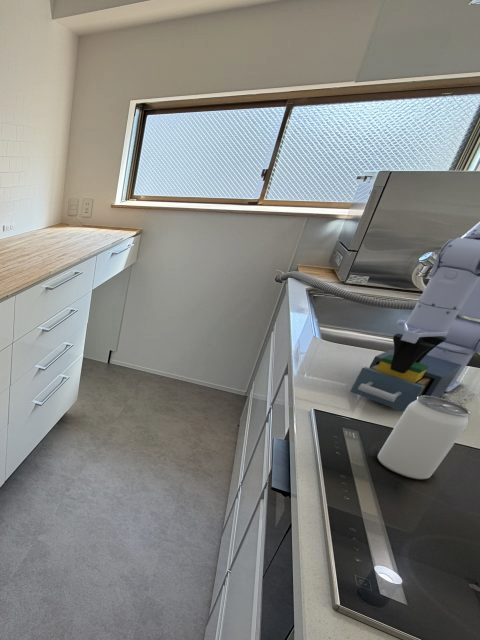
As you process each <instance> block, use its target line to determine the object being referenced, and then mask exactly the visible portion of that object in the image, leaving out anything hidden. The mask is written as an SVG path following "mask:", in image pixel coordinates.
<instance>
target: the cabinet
mask: <svg viewBox="0 0 480 640" xmlns="http://www.w3.org/2000/svg"><path fill="white" fill-rule="evenodd" d="M388 355H394V347H393V348H390V349H389V350H387V351H384V352H382V353H380V354H377V355H375V356H374V358H373V359H372V361H371V363H370V365H369V367H368V368H370V369H371V368H372V367H374V366H376V365H378V364H380V362H381V360H382V358H384V357H386V356H388ZM419 363H421V364H424V365H427V366H429V367H428V368H427V370H426V372H425V373H424V376H427V377H430V378H433V379H434V381H433V383H432V384H431V386H430V387H429V389H428V391H427V392H426V394H425V395H424V396H432V397H437V398H441V397H442V396H443V395H444V393H446V392H445V391H446V389H447V388H448V386H449V384H450V383H451V381H452V380H453V378H454V377H455V375H456V374H457V372H458V371H459V369H460V368H461V366H462V365H460V364H457V363H453V362H450V361H446V360H443V359H439V358H436V357H432V356H428V355H426V356H425V357H424V358H423V359H422V360H421V361H420V362H419Z"/></svg>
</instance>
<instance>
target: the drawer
mask: <svg viewBox="0 0 480 640" xmlns="http://www.w3.org/2000/svg"><path fill="white" fill-rule="evenodd" d="M378 366H379V364H378V365H376V366H374V367H372V368H371V369H370V368H369V367H367V366H363V367H362V368H361V369H360V372H359V374H358V375H357V378H356V379H355V381H354V383H353V385H352V387H351V389H350V390H349V392H350V393H352V394H355V395H358V396H360V397H363V398H366V399H368V400H371V401H374V402H377V403H380V404H382V405H385V406H387V407H389V408H392V409H396V410H398V411H399V412H403V413H404V411H405V410H406V408H407V407H408V405H409V404H410V403H412V402H414V401H415V400H417V397H419V396H424V395H425V394H426V392H427V391H428V389H429V387H430V386H431V384H432V383H433V381H434V379H433V378H430V377H427V376H424V375H423V376H422V378H421V379H420V380H418V381H416V382H415V383H413V382H410V381H407V380H404V379H401V378H398V377H395V376H392V375H389V374H386V373H383V372H380V371H377V370H376V369H377V368H378Z"/></svg>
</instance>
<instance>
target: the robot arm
mask: <svg viewBox="0 0 480 640" xmlns="http://www.w3.org/2000/svg"><path fill="white" fill-rule="evenodd" d="M428 277H429V278H430V279H429V280H428V282H427V284H426V286H425V288H424V290H423V291H422V294H420V297H419V299H418V301H417V302H416V304H415V306H414V308H413V309H412V311H411V314H410V315H409V317H408V319H407V320H405V319H398V320H397V322H396V324H397V325H399V326H402V327H403V330H404V333H403V334H402V333H395V334H394V335H393V337H392V341H393V348H394V355H393V359H392V363H391V370H394V371H397V372H400V373H405V372H406V371H407V370H408V369H409V368H410V367H411V366H412V365H413V364H414V363H415V362H417V363H419V362H420V361H421V360H422V359H423V358H424V357H425V356H426V355H428V356H432V357H436V358H439V359H443V360H446V361H450V362H453V363H457V364H460V365H462V366H461V368H460V369H459V371H458V372H457V374H456V375H455V377H454V378H453V380H452V381H451V383H450V384H449V386H448V388H447V389H446V391H445V392H444V393H450V392H451V391H452V390H454V389H456V388H458V386H460V385H461V384H462V382H461V381H459V380H458V379H459V377H460V376H461V374H462V373H463V371H464V370H465V368H466V367H467V365H468V364H469V362H470V360H472V357H473V356H474V354H480V321H477V320H480V221H479V222H478V223H476V224H475V225H474V226H473V227H472V228H470V229H469V230H468V231H467V232H466V233H465V234H463V235H462V236H461V237H459V236H458V237H457V238H456V237H455V238H454V239H452V238H451V239H448V240H447V241H446V242H445V243H444V244H443V245H442V247H441V248H440V249H439V251H438V253H437V255H436V257H435V259H434V262H433V267H432V269H431V271H430V272H429V275H428ZM459 316H462V317H459ZM464 317H467V318H464ZM468 318H471V319H468ZM472 319H475V320H472Z"/></svg>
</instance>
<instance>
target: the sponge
mask: <svg viewBox="0 0 480 640" xmlns="http://www.w3.org/2000/svg"><path fill="white" fill-rule="evenodd" d="M392 359H393V355H388V356H386V357H384V358H382V360H381V362H380V364H379V366H378V368H377V369H376V370H377V371H380V372H383V373H386V374H389V375H392V376H395V377H398V378H401V379H404V380H407V381H410V382H413V383H415V382H416V381H418V380H420V379H421V378H422V376H423V375H424V373H425V372H426V370H427V368H428V367H429V366H427V365H424V364H421V363H417V362H415V363H414V364H413V365H412V366H411V367H410V368H409V369H408V370H407V371H406V372H405V373H400V372H397V371H394V370H391V363H392Z"/></svg>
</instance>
